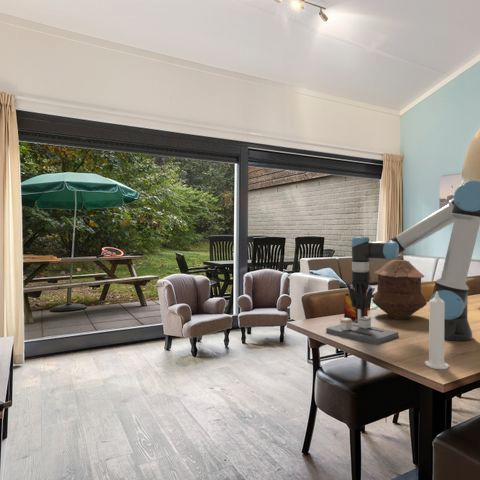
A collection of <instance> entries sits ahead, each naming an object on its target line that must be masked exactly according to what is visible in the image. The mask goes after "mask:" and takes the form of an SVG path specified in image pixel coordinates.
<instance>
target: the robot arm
mask: <svg viewBox="0 0 480 480" xmlns="http://www.w3.org/2000/svg"><path fill="white" fill-rule="evenodd" d="M452 223H453V226H452V228H451V234H450V237H449V242H448V245H447V251H446V254H445V260H444V263H443V267H442V271H441V277H440V278H438V279H436V280H435V283H434V288H433V291H432V295H431V296H430V297H429V301H430V300H431V299H433V298H434V297H435V294H436V291H438V295H439V297H440V299H442V300H443V301H444V302H445V315H444V340H445V341H447V340H448V341H454V342H465V341H471V340H472V339H473V331H472V329H471V326H470V323H469V320H468V311H469V310H468V306H469V305H468V301H469V299H468V297H469V296H468V293H469V291H470V290H469V289H470V288H469V286H468V285H467V284H466V282H467V278H468V274H469V270H470V267H471V266H470V264H471V261H472V257H473V254H474V250H475V246H476V242H477V237H478V233H479V229H480V180H476V179H475V180H473V179H471V180H467V181H465V182H462V183H461V184H460V185H459V186H458V187H457V188H456V189H455V191H454V194H453V198H451V199H450V200H449V201H448V203H447V204H446V205H445V206H443V207H441V208H439V209H438V210H436V211H434V212H432V213H431V214H430V215H428V216H426V217H425V218H423V219H422V220H420V221H418V222H417V223H415V224H413V225H412V226H411V227H409V228H407V229H404V231H402V232H400V233H399V234H397V235H395V236H394V237H392V238H390V239H389V240H385V241H383V240H382V241H381V240H380V241H378V240H377V241H373V240H370V237H369V236H355V237H353V238H352V239H351V271H352V272H351V279H352V281H351V283H350V284H348V285H347V289H348V291H349V294H350V297H351V302H352V306H353V307H355V308H356V315H357V316H358V320H357V323H358V324H360V317H364V316H365V310H366V309H367V310H368V309H369V308H370V307H371V303H372V300H373V293H374V292H375V290H376V288H375V287H373V286H371V284H370V279H371V278H370V259H382V260H384V259H385V260H397V259H398V257H399V255H400V254H402V253H403V252H404V251H406V250H408V249H409V248H411V247H413V246H415V245H417V244H419V243H420V242H422V241H424V240H425V239H427V238H429V237H430V236H432V235H435V234H436V233H437V232H440V231H441V230H443V229H444V228H446V227H447V226H450V225H452ZM355 294H356V295H355Z"/></svg>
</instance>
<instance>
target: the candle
mask: <svg viewBox="0 0 480 480" xmlns="http://www.w3.org/2000/svg"><path fill="white" fill-rule="evenodd" d="M428 303H429V304H428V305H429V307H428V309H429V310H428V311H429V313H428V314H429V316H428V318H429V319H428V320H429V321H428V327H429V328H428V334H429V335H428V359H427V360H425V361H424V365H425V367H428V368H431V369H433V370H448V369H449V368H450V366H449V364H448V363H447V362H445V339H444V315H445V302H444V301H443V300H442V299H440V297H439V295H438V291H436V294H435V297H434V298H433V299H431V300H430V299H429V302H428Z"/></svg>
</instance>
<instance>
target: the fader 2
mask: <svg viewBox="0 0 480 480" xmlns="http://www.w3.org/2000/svg"><path fill="white" fill-rule="evenodd" d="M371 325H372V318H371V316H368V317H367V316H364V317H360V327H361V328H365V329H366V328H369V327H371Z"/></svg>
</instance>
